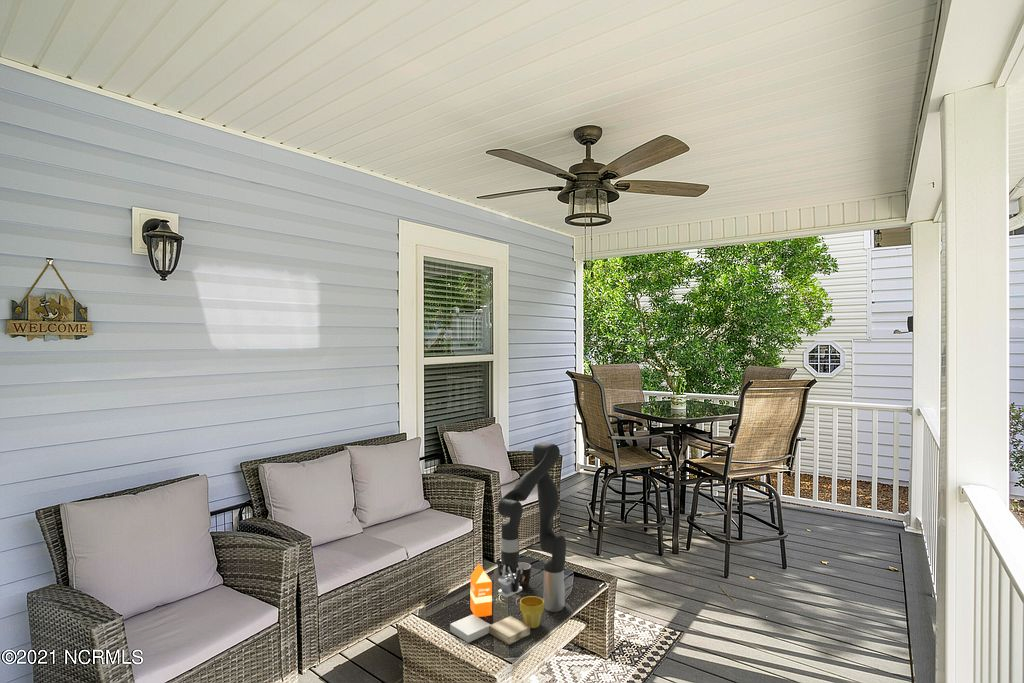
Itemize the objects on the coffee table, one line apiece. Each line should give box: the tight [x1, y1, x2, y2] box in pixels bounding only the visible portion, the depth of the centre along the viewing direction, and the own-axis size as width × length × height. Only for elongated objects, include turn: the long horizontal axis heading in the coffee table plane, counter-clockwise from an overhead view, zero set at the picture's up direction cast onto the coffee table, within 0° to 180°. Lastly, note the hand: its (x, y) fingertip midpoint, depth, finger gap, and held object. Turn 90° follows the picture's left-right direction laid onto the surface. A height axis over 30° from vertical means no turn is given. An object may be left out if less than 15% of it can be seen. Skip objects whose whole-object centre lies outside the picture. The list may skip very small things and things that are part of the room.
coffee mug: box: [518, 562, 532, 590], centre depth 265 cm, size 12×9×10 cm
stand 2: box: [488, 615, 531, 646], centre depth 221 cm, size 12×12×3 cm
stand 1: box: [449, 613, 491, 643], centre depth 222 cm, size 12×12×3 cm
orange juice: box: [469, 562, 493, 618], centre depth 239 cm, size 8×9×20 cm
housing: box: [497, 573, 523, 598], centre depth 221 cm, size 9×5×6 cm, turn 133°
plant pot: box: [519, 595, 545, 629], centre depth 228 cm, size 10×10×10 cm
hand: (510, 589), depth 221 cm, fingers closed on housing, 5 cm apart
